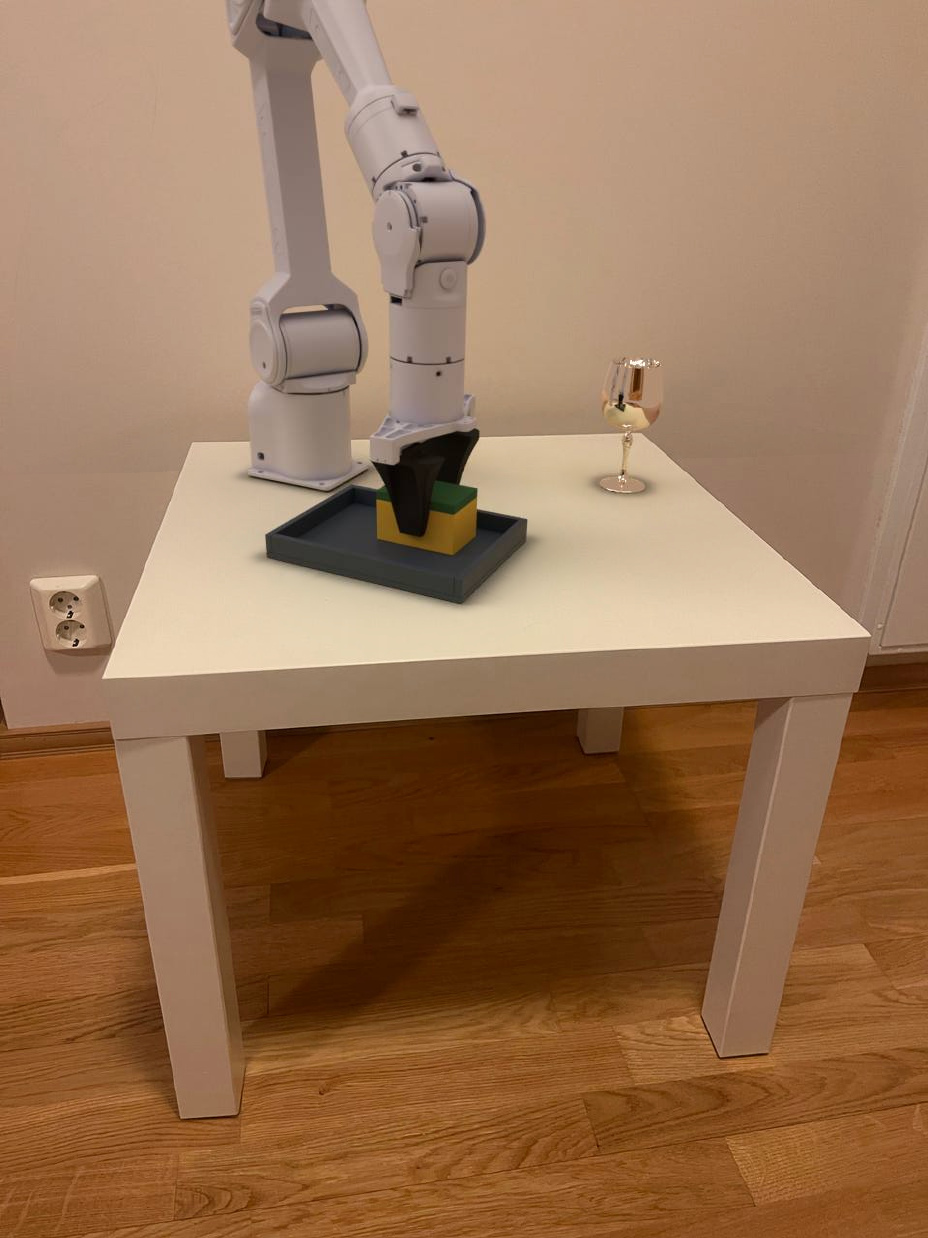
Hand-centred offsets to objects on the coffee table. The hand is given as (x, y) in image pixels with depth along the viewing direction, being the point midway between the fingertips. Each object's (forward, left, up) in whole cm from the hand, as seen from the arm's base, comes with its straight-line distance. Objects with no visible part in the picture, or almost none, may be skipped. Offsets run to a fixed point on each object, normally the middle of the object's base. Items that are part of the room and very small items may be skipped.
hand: (425, 523), depth 75 cm
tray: (-1, -2, -2) cm, 3 cm away
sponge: (0, 0, -1) cm, 1 cm away
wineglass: (+11, +22, -2) cm, 25 cm away
